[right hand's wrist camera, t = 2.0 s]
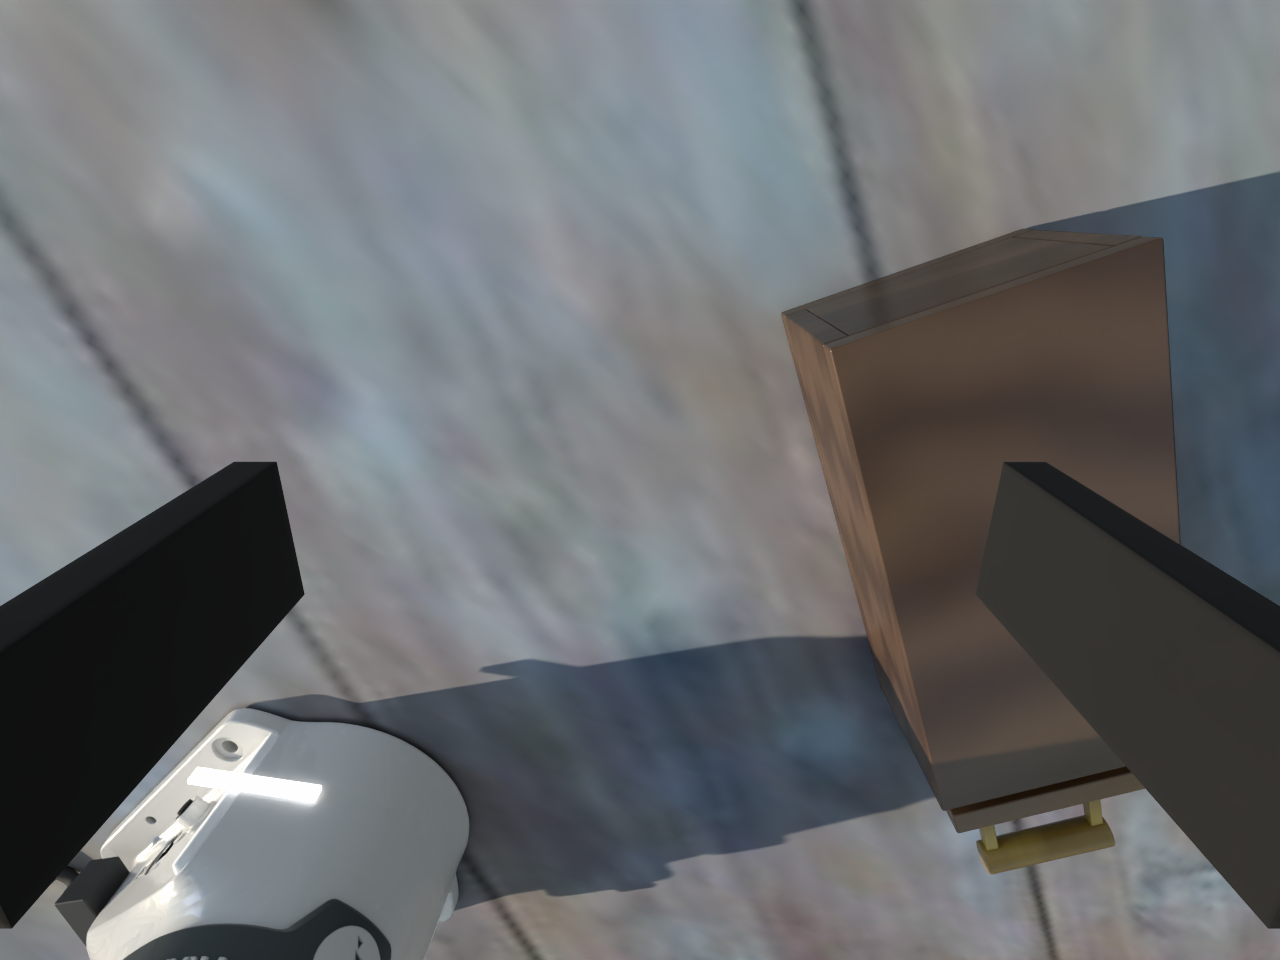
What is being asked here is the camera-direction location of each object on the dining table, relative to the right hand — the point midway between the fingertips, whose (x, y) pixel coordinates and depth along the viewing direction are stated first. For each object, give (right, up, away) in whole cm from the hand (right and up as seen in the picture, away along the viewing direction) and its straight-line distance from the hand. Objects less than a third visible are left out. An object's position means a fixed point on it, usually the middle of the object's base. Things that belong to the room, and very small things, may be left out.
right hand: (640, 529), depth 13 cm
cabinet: (+15, 0, +20) cm, 25 cm away
